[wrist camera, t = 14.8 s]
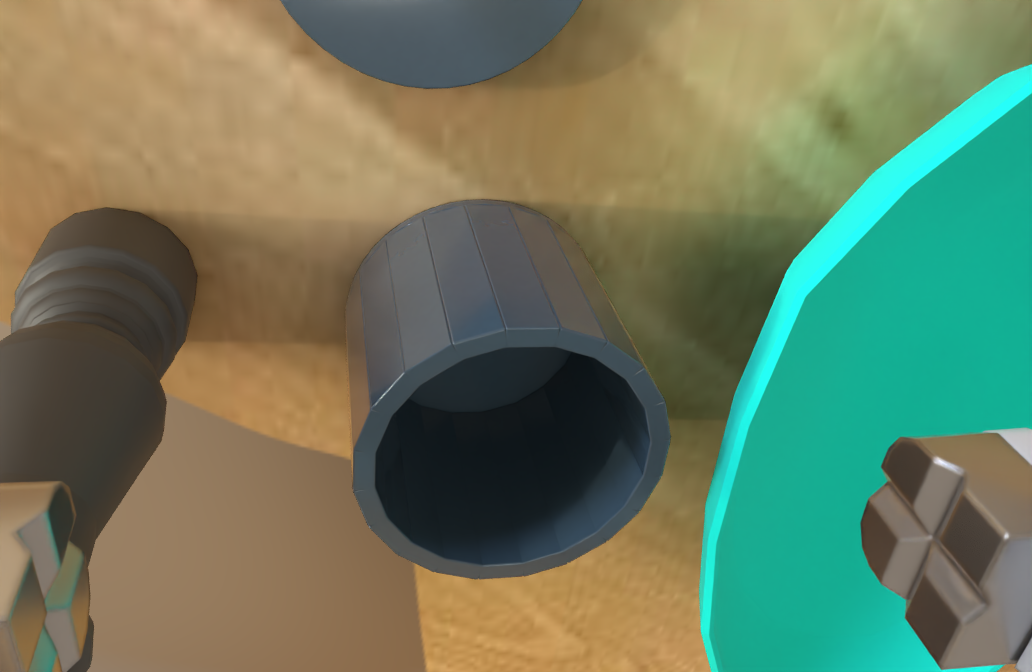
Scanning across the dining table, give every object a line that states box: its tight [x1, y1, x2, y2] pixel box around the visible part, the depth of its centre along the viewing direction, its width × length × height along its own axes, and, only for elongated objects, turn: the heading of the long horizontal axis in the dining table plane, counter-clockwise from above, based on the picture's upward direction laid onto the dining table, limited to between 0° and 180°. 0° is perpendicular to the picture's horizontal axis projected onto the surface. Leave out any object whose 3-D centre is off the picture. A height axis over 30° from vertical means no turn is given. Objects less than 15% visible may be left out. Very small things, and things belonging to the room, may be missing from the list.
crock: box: [345, 200, 671, 579], centre depth 37 cm, size 12×12×11 cm
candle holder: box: [0, 208, 197, 672], centre depth 27 cm, size 6×6×25 cm
